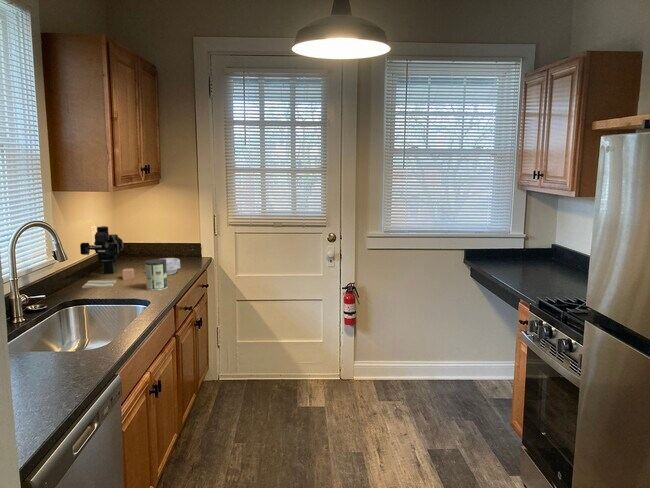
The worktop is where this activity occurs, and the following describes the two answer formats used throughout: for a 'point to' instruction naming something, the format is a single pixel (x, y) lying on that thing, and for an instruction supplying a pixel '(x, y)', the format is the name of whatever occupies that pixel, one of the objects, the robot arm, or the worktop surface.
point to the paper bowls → (172, 265)
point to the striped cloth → (99, 283)
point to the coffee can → (156, 274)
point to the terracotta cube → (128, 274)
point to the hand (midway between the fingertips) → (95, 252)
